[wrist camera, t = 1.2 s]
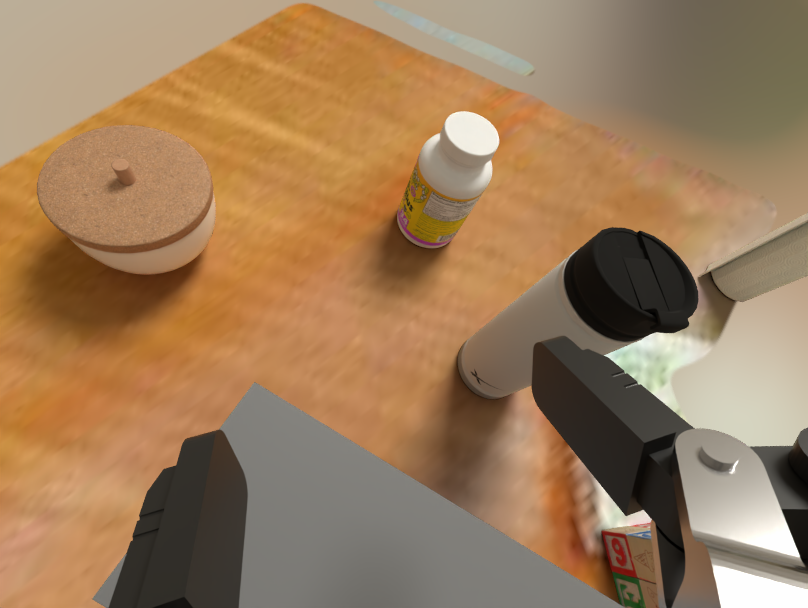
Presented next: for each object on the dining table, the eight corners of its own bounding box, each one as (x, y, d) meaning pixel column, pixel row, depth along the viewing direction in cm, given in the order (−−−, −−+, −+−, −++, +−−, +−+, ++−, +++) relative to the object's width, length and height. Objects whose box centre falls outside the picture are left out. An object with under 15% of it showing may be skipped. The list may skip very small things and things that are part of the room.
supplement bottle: (403, 191, 44) (441, 89, 33) (458, 211, 45) (514, 119, 34) (388, 239, 41) (425, 145, 30) (448, 259, 42) (506, 176, 31)
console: (194, 540, 27) (92, 599, 13) (271, 428, 31) (254, 382, 17) (494, 722, 28) (708, 971, 13) (532, 587, 32) (728, 670, 17)
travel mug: (460, 403, 36) (622, 325, 18) (453, 334, 39) (589, 207, 21) (523, 403, 38) (727, 330, 20) (511, 336, 40) (683, 220, 23)
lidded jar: (70, 209, 34) (0, 122, 26) (200, 178, 39) (175, 94, 30) (111, 314, 32) (47, 255, 24) (245, 268, 36) (231, 204, 28)
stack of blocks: (776, 500, 41) (954, 506, 30) (806, 574, 38) (1011, 609, 27) (598, 530, 35) (738, 550, 24) (620, 618, 32) (786, 685, 22)
